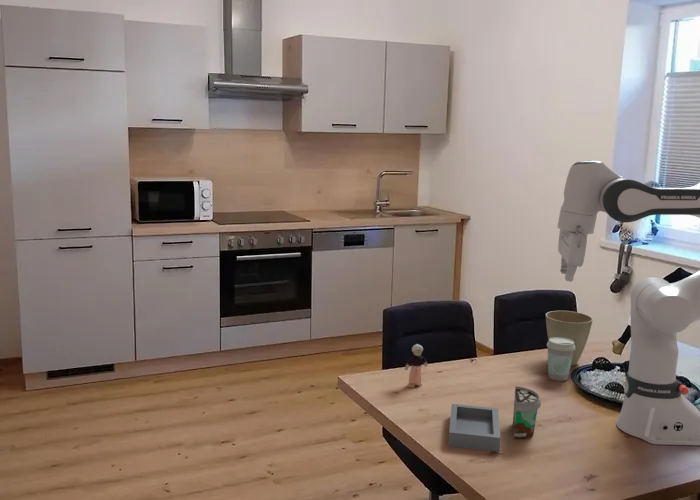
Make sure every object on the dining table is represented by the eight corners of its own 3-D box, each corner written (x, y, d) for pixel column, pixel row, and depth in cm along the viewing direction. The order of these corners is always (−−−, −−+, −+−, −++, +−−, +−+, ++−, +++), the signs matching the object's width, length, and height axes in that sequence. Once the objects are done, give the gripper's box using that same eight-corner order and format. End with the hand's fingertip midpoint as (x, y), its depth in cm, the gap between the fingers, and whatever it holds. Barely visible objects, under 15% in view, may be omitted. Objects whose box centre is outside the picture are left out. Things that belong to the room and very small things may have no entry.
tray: (496, 420, 179) (497, 408, 179) (499, 451, 162) (500, 437, 161) (450, 416, 181) (451, 403, 181) (448, 446, 164) (449, 432, 163)
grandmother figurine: (411, 389, 199) (413, 348, 197) (402, 385, 202) (404, 344, 200) (429, 384, 204) (431, 343, 202) (420, 380, 207) (422, 340, 205)
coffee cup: (542, 379, 211) (545, 342, 209) (545, 371, 219) (548, 335, 217) (571, 384, 208) (574, 346, 206) (573, 375, 216) (577, 339, 214)
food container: (540, 444, 166) (543, 405, 164) (514, 441, 167) (517, 403, 166) (536, 424, 178) (539, 387, 176) (512, 421, 179) (515, 385, 178)
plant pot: (541, 353, 237) (545, 308, 234) (586, 358, 233) (591, 313, 231) (541, 366, 223) (545, 319, 220) (589, 372, 219) (594, 324, 216)
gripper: (596, 231, 161) (585, 287, 164) (583, 221, 181) (573, 271, 184) (569, 227, 162) (558, 283, 165) (558, 217, 182) (549, 267, 185)
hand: (566, 277), depth 175 cm, fingers open, 8 cm apart
